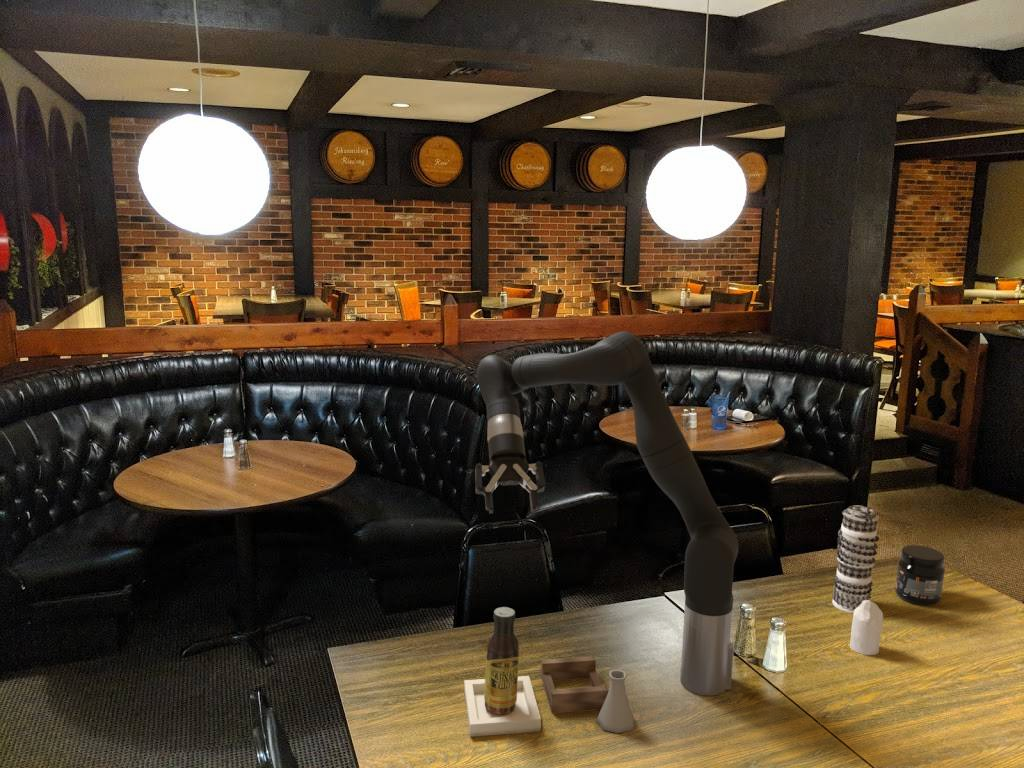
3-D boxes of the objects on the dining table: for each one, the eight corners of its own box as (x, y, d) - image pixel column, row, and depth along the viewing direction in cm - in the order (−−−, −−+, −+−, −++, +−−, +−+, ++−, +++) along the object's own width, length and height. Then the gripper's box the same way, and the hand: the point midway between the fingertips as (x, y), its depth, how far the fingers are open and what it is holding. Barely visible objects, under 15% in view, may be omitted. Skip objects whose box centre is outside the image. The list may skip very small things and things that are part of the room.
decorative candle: (874, 602, 195) (885, 506, 190) (868, 618, 188) (879, 518, 182) (834, 593, 200) (844, 499, 195) (827, 608, 193) (837, 510, 187)
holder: (593, 673, 164) (593, 656, 164) (607, 708, 153) (608, 690, 152) (540, 677, 163) (541, 659, 162) (551, 713, 151) (552, 694, 150)
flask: (637, 734, 145) (640, 685, 143) (598, 734, 145) (599, 685, 143) (632, 710, 152) (634, 663, 150) (595, 709, 153) (596, 662, 150)
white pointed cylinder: (882, 594, 174) (887, 606, 169) (876, 644, 177) (881, 657, 171) (853, 591, 175) (857, 603, 170) (847, 640, 178) (851, 653, 173)
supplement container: (905, 583, 206) (911, 540, 203) (948, 598, 198) (954, 553, 195) (886, 595, 199) (891, 551, 197) (929, 611, 191) (935, 565, 189)
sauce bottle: (488, 719, 148) (488, 622, 144) (480, 699, 154) (481, 606, 150) (522, 714, 150) (523, 617, 146) (513, 694, 156) (514, 602, 152)
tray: (528, 686, 160) (528, 675, 159) (540, 731, 146) (540, 719, 146) (464, 691, 158) (464, 680, 157) (470, 736, 144) (470, 724, 144)
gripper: (473, 432, 164) (478, 504, 155) (541, 430, 166) (550, 501, 157) (471, 449, 170) (476, 520, 161) (536, 447, 172) (545, 517, 163)
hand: (512, 511), depth 159 cm, fingers open, 8 cm apart
